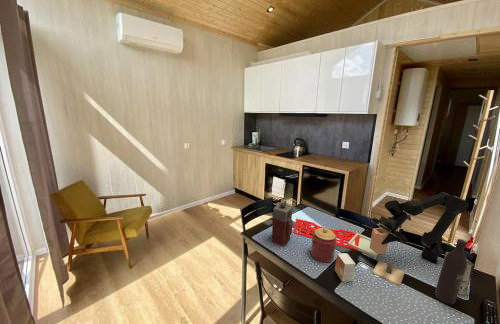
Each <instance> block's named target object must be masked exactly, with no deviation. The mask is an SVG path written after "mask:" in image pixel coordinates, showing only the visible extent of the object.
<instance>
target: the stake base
mask: <svg viewBox="0 0 500 324" xmlns="http://www.w3.org/2000/svg"><path fill="white" fill-rule="evenodd" d="M372 274H374V275H375V276H377V277H380V278H382V279H383V280H386V281H387V282H390V283H391V284H394V285H396V286H398V287H400V286H401V284H402V281H403V279H404V277H405V271H403V270H401V269H399V268H396V267H394V264H393V263H391V262H388V263H385V262H383V261H381V260H378V262H377V264H376V265H375V266H374V268H373V271H372Z"/></svg>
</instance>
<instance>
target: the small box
mask: <svg viewBox="0 0 500 324" xmlns="http://www.w3.org/2000/svg"><path fill="white" fill-rule="evenodd" d="M356 266H357V265H356V263H355V261H354V260H353V259H352V257H351V256H350V254H348V253H347V252H346V253H342V252H341V253H337V254H336V260H335V266H334V272H335V273H336V274H337V276H338V278H339V279H340V281H341V282H342V283H345V282H346V283H347V282H353V280H354V274H355V270H356Z"/></svg>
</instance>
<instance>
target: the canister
mask: <svg viewBox="0 0 500 324" xmlns="http://www.w3.org/2000/svg"><path fill="white" fill-rule="evenodd" d="M329 229H330V228H327V227H324V228H319V229H316V230H315V232H312V233H313V235H312V236H313V239H312V238H311V248H310V253H311V256H312V257H313V259H314V260H316V261H319V262H321V263H330V262H332V261H333V260H334V259H335V250H336V246H337V245H336V244H335V243H336V242H338V241H337V240H336V239H337V238H336V237H335V234H334V233H333V232H332V231H331V230H329Z"/></svg>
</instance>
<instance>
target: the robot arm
mask: <svg viewBox="0 0 500 324" xmlns="http://www.w3.org/2000/svg"><path fill="white" fill-rule="evenodd" d="M444 203H445V210H444V212H443V213H442V215H441V216H440V217H439V219H438V221H437V222H436V223H435V225H434V226H433V227H432V229H431V230H430V231H424V232H423V233H422V236H420V241H421V244H422V246H424V247H423V248H422V252H421V259H422V260H425V261H428V262H431V263H433V264H435V265H436V264H437V263H438V258H439V256H441V255H443V254H444V252H445V250H444V249H443V247H442V243H443V238H442V237H443V236H444V234H445V233H446V232H447V230H448V229H449V228H450V226H451V225H452V223H453V221H455V219H456V217H457V216H458V215H460V214H463V213H465V212H466V210H468V208H469V207H470V204H469V201H468V200H466V199H464V198H461V197H459V196H456V195H451V194H449V193H446V192H444V191H441V192H439V193H437V194H435V195H431V196H429V197H426V198H423V199H420V200H408V201H405V202H400V203H399V201H398V200H396V199H394V200H388V201H386V202H385V204H384V208H385V209H386V211H388V212H389V214H390V215H391V216H389V217H386V216H383V215H381V216H380V217H379V219H378V218H377V217H373V218H372V219H371V220H370V221H371V222H372V223H373V225H374V227H375V228H382V229H384V230H386V231H387V232H389V235H388V237H387V238H386V239H385V240H384V241H383V242H382V243H381V244H382V245H384V244H387V243H388V244H389V243H393V242H401V243H402V244H406V243H407V242H408V239H407V237H406V236H405V235H404V234H403V233H402V232H400V231H398V230H399V228H400V229H402V225H403V224H404V223H406V221H407V220H408V221H412V218H411V216H413V217H417V216H418V215H420V214H422V213H423V212H424V211H425V210H426V209H429V208H433V207H435V206H438V205H442V204H444ZM375 228H374V229H375Z"/></svg>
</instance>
